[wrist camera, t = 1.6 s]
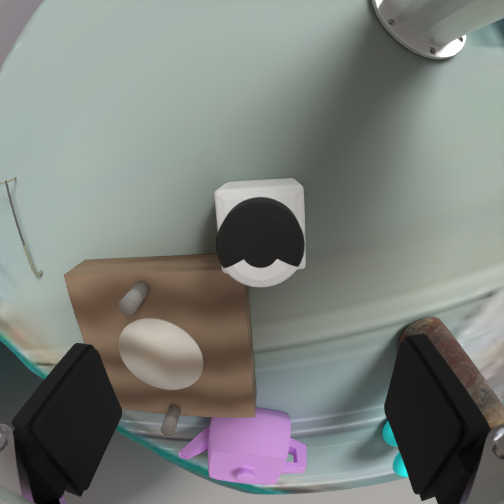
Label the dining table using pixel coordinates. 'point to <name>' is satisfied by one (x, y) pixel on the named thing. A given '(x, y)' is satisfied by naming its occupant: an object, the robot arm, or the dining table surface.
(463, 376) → the brown rusty cylinder
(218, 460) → the teapot
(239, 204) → the medicine bottle
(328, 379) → the dining table surface
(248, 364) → the stand
